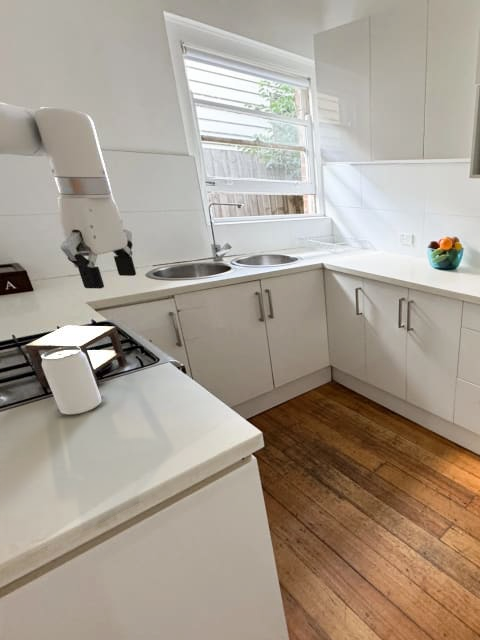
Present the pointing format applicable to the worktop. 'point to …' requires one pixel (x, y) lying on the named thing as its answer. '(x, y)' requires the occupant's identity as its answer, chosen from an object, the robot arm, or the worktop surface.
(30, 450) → the worktop surface
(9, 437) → the worktop surface
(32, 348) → the shelf
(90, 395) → the can
